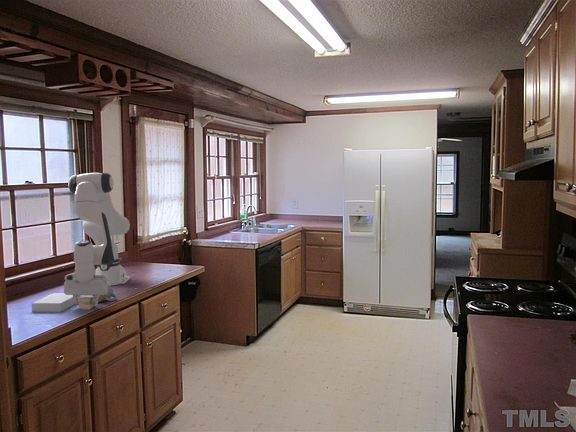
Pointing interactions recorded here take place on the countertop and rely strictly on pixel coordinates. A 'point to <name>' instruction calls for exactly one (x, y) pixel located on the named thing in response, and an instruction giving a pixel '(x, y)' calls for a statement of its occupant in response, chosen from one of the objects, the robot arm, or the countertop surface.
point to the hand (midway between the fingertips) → (86, 303)
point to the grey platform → (54, 303)
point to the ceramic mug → (107, 295)
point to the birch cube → (86, 302)
